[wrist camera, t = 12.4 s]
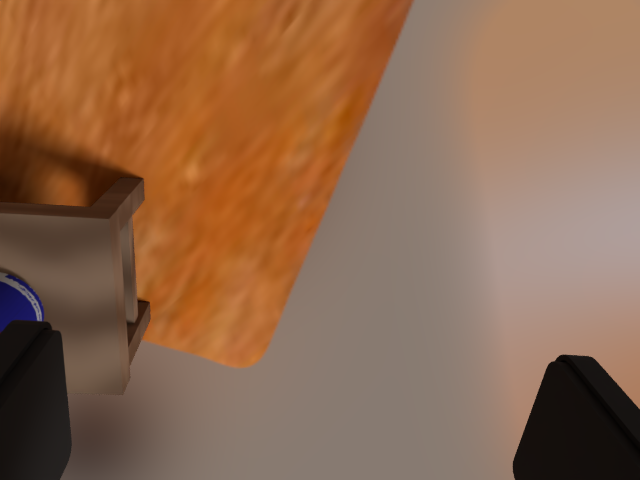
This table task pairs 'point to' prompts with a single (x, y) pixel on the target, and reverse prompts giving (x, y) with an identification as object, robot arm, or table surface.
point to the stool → (83, 280)
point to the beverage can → (18, 301)
